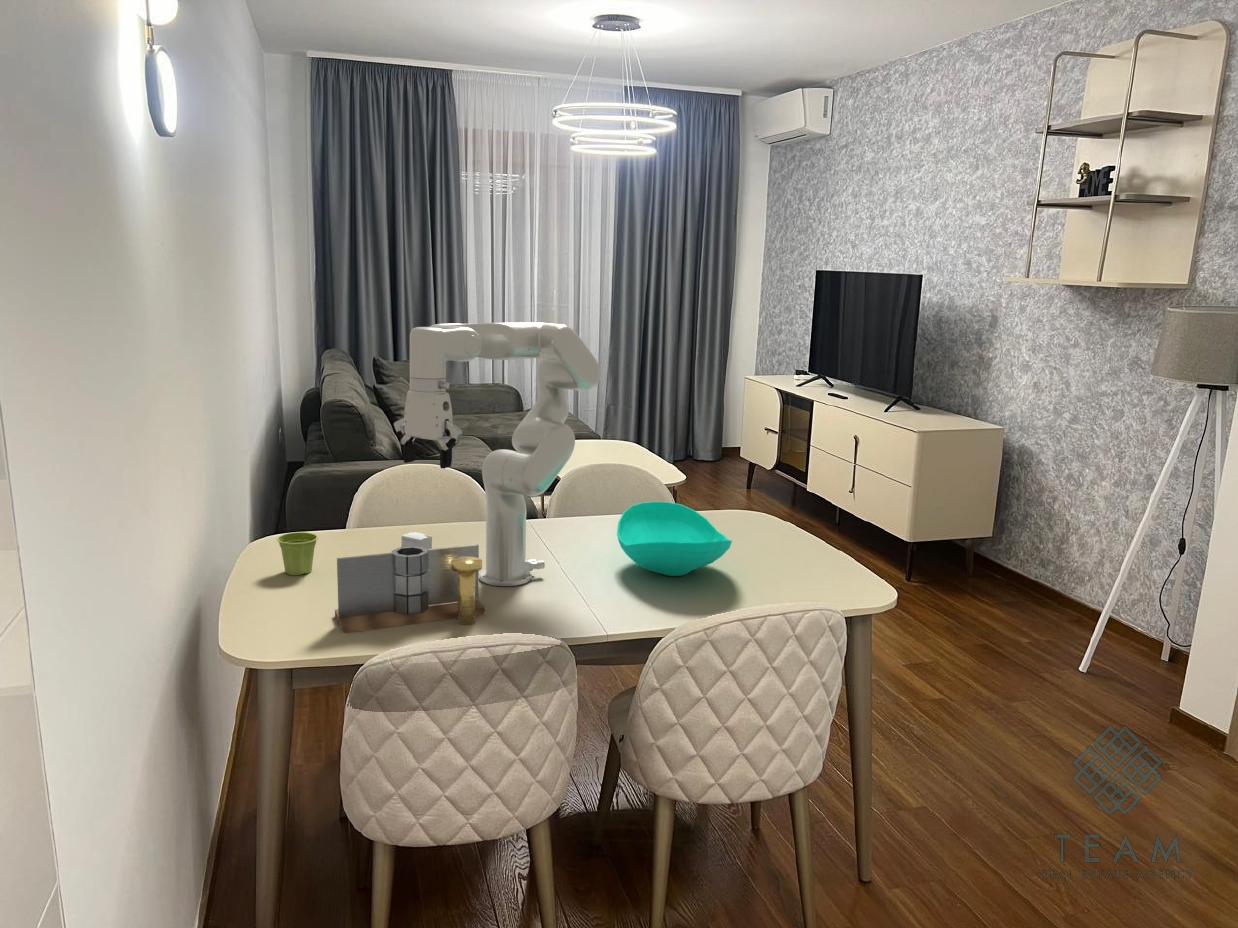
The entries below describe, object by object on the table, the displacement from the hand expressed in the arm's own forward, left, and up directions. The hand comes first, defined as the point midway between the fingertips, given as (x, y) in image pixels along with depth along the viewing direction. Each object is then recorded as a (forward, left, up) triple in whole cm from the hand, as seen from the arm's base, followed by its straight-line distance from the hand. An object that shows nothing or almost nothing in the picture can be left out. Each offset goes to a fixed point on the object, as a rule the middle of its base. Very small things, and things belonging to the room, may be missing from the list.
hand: (427, 464), depth 204 cm
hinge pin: (-5, +14, -32) cm, 35 cm away
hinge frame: (+11, +6, -30) cm, 33 cm away
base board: (+5, +6, -32) cm, 33 cm away
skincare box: (-1, -13, -32) cm, 34 cm away
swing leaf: (0, +6, -30) cm, 30 cm away
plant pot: (+23, -32, -32) cm, 51 cm away
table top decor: (-63, -1, -32) cm, 70 cm away
